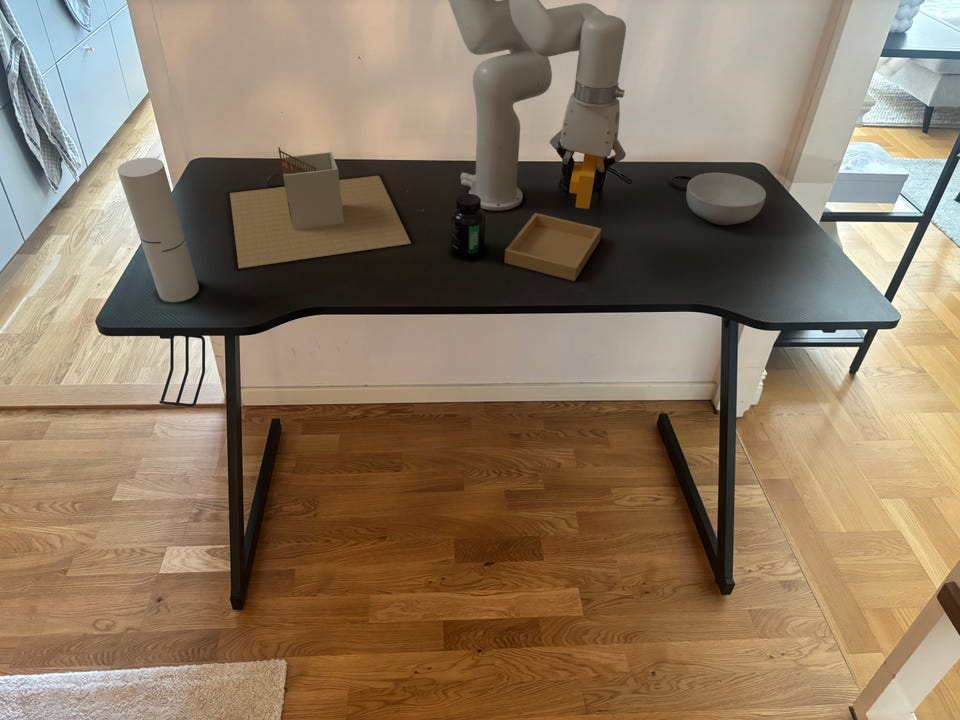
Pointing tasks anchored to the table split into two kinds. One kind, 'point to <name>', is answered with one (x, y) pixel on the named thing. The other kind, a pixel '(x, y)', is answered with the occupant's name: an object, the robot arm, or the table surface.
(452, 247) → the supplement bottle
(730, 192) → the cereal bowl
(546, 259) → the tray
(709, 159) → the table surface
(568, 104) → the robot arm
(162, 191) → the cylindrical container
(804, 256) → the table surface
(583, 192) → the yellow stepped block
